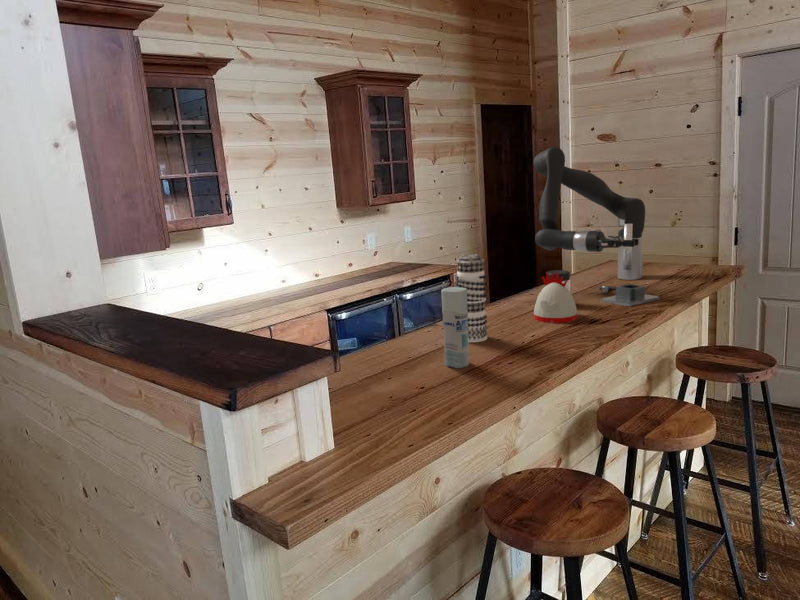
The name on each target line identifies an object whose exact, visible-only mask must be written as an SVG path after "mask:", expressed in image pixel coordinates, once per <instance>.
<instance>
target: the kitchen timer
mask: <svg viewBox="0 0 800 600" xmlns="http://www.w3.org/2000/svg"><path fill="white" fill-rule="evenodd" d="M541 279H542V281H543V283H544V285H545V286H544V287H543V288H542V289H541V290H540V292H539V293H538V294H537V297H536V298H537V299H536V301H535V305H534V310H533V319H534V320H535V321H537V322H541V323H547V322H548V323H551V324H560V323H562V324H563V323H569V322H574V321H576V320H578V310H577V305H576V301H575V300H574V296H573V294H572V293H571V290H570V291H569V290H568V289H567V288H566V287H565V285H566V283H567V280H566V281H565V283H564V284H563V283H562V279H563V276H562V277H561V278H560V280H559V275H558V273H557V274H556V278H554V273H552V275H551V279H550V278H549V275H548V273H546V272H545V277H544V276H542V277H541Z"/></svg>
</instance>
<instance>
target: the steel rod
mask: <svg viewBox="0 0 800 600" xmlns="http://www.w3.org/2000/svg"><path fill="white" fill-rule="evenodd" d="M632 226H633V224H624V223H623V227H624V240H632ZM631 269H632V247H625V246H624V250H623V270H631Z"/></svg>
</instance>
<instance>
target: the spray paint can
mask: <svg viewBox="0 0 800 600" xmlns="http://www.w3.org/2000/svg"><path fill="white" fill-rule="evenodd" d="M440 293H441V308H442V309H441V312H442V313H441V314H442V327H443V328H442V329H443V345H444V346H443V348H444V349H443V350H444V365H445V366H446V367H447V368H452V369H461V368H465V367H468V366H469V364H470V353H469V352H470V351H469V348H470V346H469V342H468V312H467V289H466V288H463V287H458V286H450V287H444V288H442V289H441V292H440Z"/></svg>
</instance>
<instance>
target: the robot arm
mask: <svg viewBox="0 0 800 600" xmlns="http://www.w3.org/2000/svg"><path fill="white" fill-rule="evenodd" d="M565 165H566V156H565V152H564V151H563V150H562V149H561V148H560V147H558V146H551V147H549V148H547V149H545V150H543V151H542V152H540V153H538V154H536V156H534V158H533V167H534V169H535V170H536V172H537V173H539V174H540V175H542V176H543V177H545V178H547V179H546V183H545V186H544V188H543V189H544V190H543V191H542V194H541V196H540V197H541V198H540V201H539V206H538V207H539V210H538V211H539V212H538V214H539V215H538V220H539V224H540V225H541V227H542V229H540V230H539V231H537V232H536V233H535V237H534V240H535V243H536V245H538V246H539V247H540V248H542V249H544V250H547V251H554V250H556V249H557V248H560V249H562V250H567V251H578V252H590V253H592V252H593V253H601V252H602V251H603V250H604V249H609V248H610V249H611V248H612V249H616V248H617V279H619V280H623V281H624V280H627V281H629V280H632V281H634V280H640V279H642V278H643V267H644V266H643V265H644V255H643V254H642V251H643V249H642V247H643V245H642V244H643V232H644V230H645V222H646V205H645V202H644V201H643V200H642V199H641V198H637V197H636V198H635V197H626V196H623V195H620V194H618V193H616V192H615V191H613V190H612V189H611V188H610V187H609V186H608V184H607V183H606V182H605V181H604V180H603V179H602V178H600V177H598V176H597V175H595V174H594V173H592V172H589V171H586V170H581V169H576V168H571V167H568V166H565ZM561 185H563V186H565V187H567V188H569V189H570V190H572V191H574V192H575V193H577V194H578V195H580V196H582V197H584V198H585V199H587V200H589V201H591V202H593V203H595V204H597V205H599V206H602V207H603V208H604V209H606V210H607V211H609V212H610V213H611V214H613V215H614V216H615V217H617V218H618V219H619V220H622V221H624V223H623V225H624V224H633V226H632V240H624V226H623V228H621V229H619V230H618V232H617V233H618V234H617V235H615V236H614V235H608V236H605V234H604V232H603V231H602V230H576V231H575V230H560V227H559V226H560V225H559V221H558V219H559V218H558V217H559V200H560V199H559V198H560V191H561ZM624 246H625V247H632V269H631V270H623V250H624Z"/></svg>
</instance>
